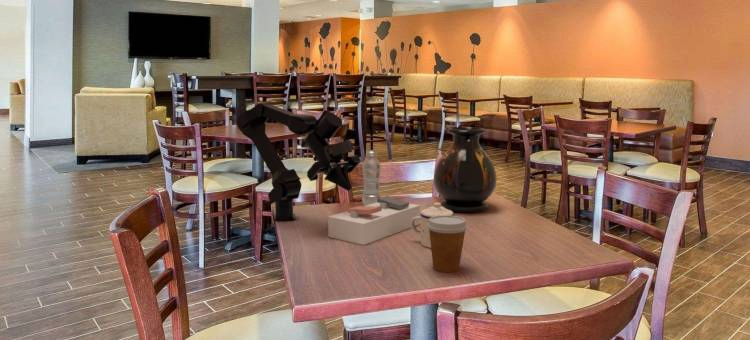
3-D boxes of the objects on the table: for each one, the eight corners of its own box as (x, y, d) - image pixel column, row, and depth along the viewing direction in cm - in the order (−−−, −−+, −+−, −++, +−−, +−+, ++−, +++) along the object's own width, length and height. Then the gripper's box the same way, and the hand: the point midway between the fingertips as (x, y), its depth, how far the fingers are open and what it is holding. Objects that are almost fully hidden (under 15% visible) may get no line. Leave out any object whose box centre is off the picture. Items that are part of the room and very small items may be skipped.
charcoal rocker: (376, 202, 175) (377, 198, 174) (386, 199, 178) (387, 195, 178) (399, 209, 170) (399, 205, 169) (408, 206, 174) (409, 202, 173)
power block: (328, 236, 163) (328, 211, 162) (386, 217, 185) (386, 194, 184) (363, 245, 156) (363, 218, 154) (419, 224, 177) (419, 200, 176)
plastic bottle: (379, 209, 196) (379, 152, 193) (360, 208, 197) (360, 151, 194) (382, 205, 202) (383, 150, 199) (364, 204, 204) (364, 149, 200)
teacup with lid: (457, 242, 159) (458, 201, 157) (447, 251, 151) (448, 208, 149) (416, 236, 164) (417, 197, 162) (405, 245, 156) (405, 203, 154)
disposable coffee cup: (423, 261, 142) (424, 215, 140) (460, 261, 143) (462, 214, 141) (430, 275, 132) (431, 225, 130) (470, 274, 133) (471, 224, 131)
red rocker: (347, 213, 164) (347, 209, 164) (358, 210, 168) (358, 206, 167) (371, 214, 158) (370, 209, 158) (381, 210, 162) (381, 206, 162)
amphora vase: (501, 215, 188) (504, 131, 184) (436, 215, 189) (437, 131, 184) (489, 201, 209) (491, 125, 205) (430, 201, 210) (432, 125, 205)
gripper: (313, 133, 158) (343, 177, 154) (356, 128, 173) (385, 168, 168) (294, 159, 164) (322, 201, 160) (336, 152, 179) (364, 191, 174)
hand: (350, 189), depth 165 cm, fingers closed
